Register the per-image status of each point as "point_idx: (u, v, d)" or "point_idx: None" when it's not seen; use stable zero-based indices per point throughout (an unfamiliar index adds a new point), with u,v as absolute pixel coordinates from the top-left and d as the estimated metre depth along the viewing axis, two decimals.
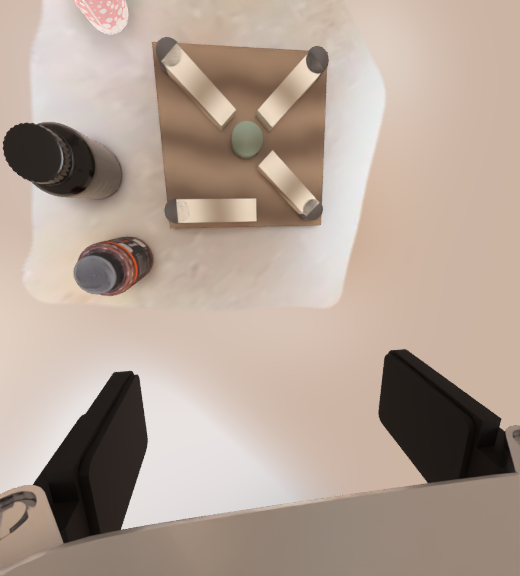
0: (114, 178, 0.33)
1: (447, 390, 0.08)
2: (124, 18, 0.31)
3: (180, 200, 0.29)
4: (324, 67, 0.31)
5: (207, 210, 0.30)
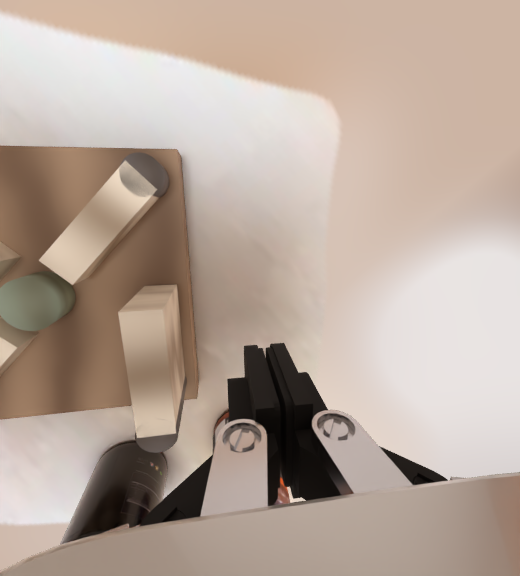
0: (133, 463, 0.25)
1: (288, 379, 0.09)
2: None
3: (138, 432, 0.18)
4: None
5: (151, 393, 0.17)
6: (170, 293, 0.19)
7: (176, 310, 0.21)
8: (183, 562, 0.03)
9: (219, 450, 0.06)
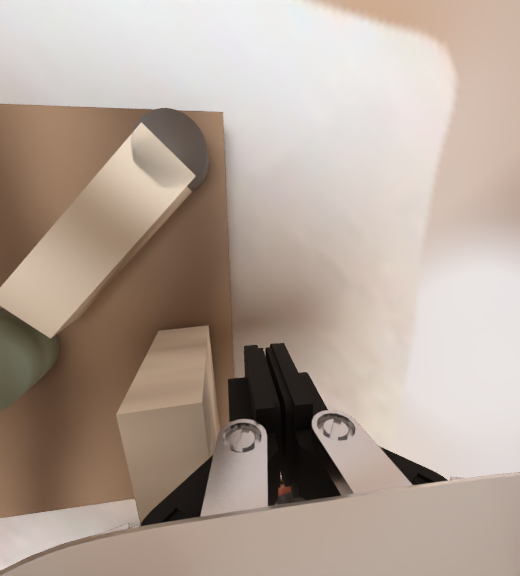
0: None
1: (288, 379, 0.09)
2: None
3: None
4: None
5: None
6: (204, 349, 0.11)
7: (211, 369, 0.13)
8: (183, 562, 0.03)
9: (219, 450, 0.06)
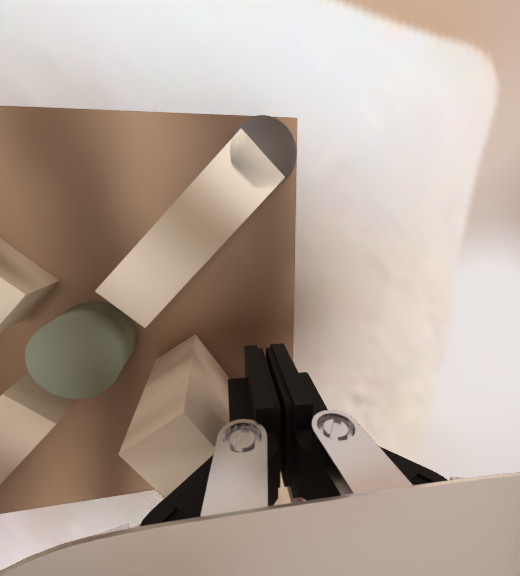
0: None
1: (288, 379, 0.09)
2: None
3: None
4: None
5: None
6: (189, 359, 0.12)
7: (213, 370, 0.14)
8: (183, 562, 0.03)
9: (219, 450, 0.06)
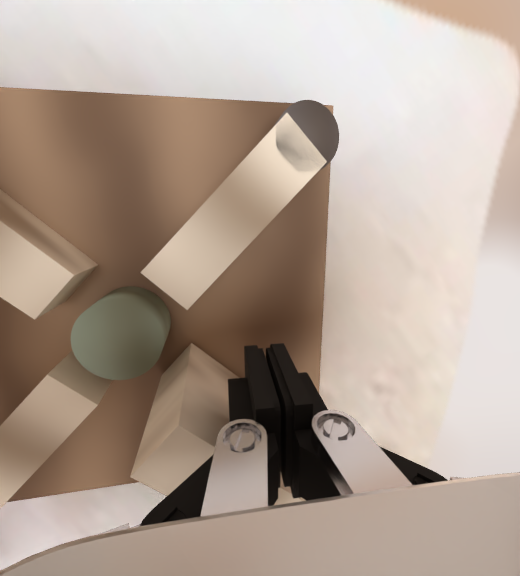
0: None
1: (288, 379, 0.09)
2: None
3: None
4: None
5: None
6: (185, 370, 0.12)
7: (216, 373, 0.14)
8: (183, 562, 0.03)
9: (219, 450, 0.06)
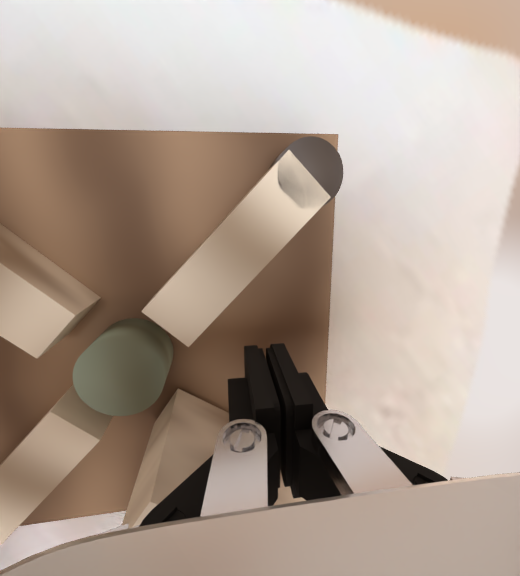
0: None
1: (288, 379, 0.09)
2: None
3: None
4: None
5: None
6: (168, 425, 0.12)
7: (204, 419, 0.14)
8: (183, 562, 0.03)
9: (219, 450, 0.06)
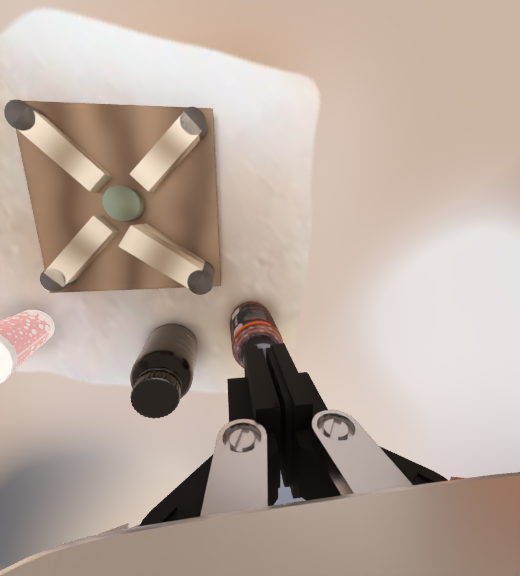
0: (176, 331, 0.36)
1: (288, 379, 0.09)
2: (37, 313, 0.35)
3: (191, 288, 0.29)
4: (25, 105, 0.26)
5: (173, 265, 0.28)
6: (140, 224, 0.30)
7: (157, 232, 0.32)
8: (183, 562, 0.03)
9: (219, 450, 0.06)
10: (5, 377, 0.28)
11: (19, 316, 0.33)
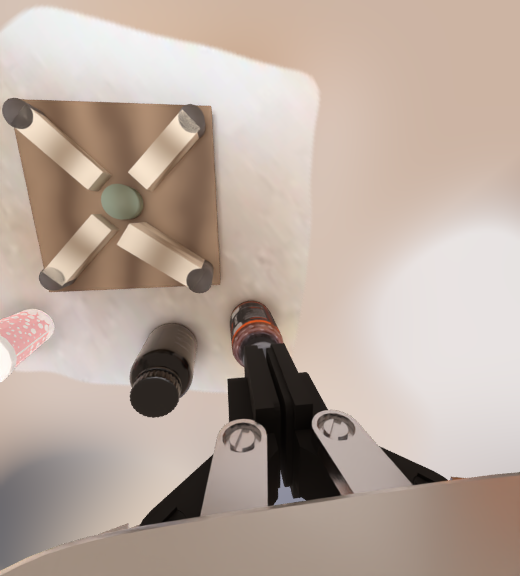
0: (176, 330, 0.36)
1: (288, 379, 0.09)
2: (36, 312, 0.35)
3: (190, 287, 0.29)
4: (23, 103, 0.26)
5: (172, 264, 0.28)
6: (138, 223, 0.30)
7: (156, 230, 0.31)
8: (183, 562, 0.03)
9: (219, 450, 0.06)
10: (4, 376, 0.28)
11: (18, 315, 0.33)
